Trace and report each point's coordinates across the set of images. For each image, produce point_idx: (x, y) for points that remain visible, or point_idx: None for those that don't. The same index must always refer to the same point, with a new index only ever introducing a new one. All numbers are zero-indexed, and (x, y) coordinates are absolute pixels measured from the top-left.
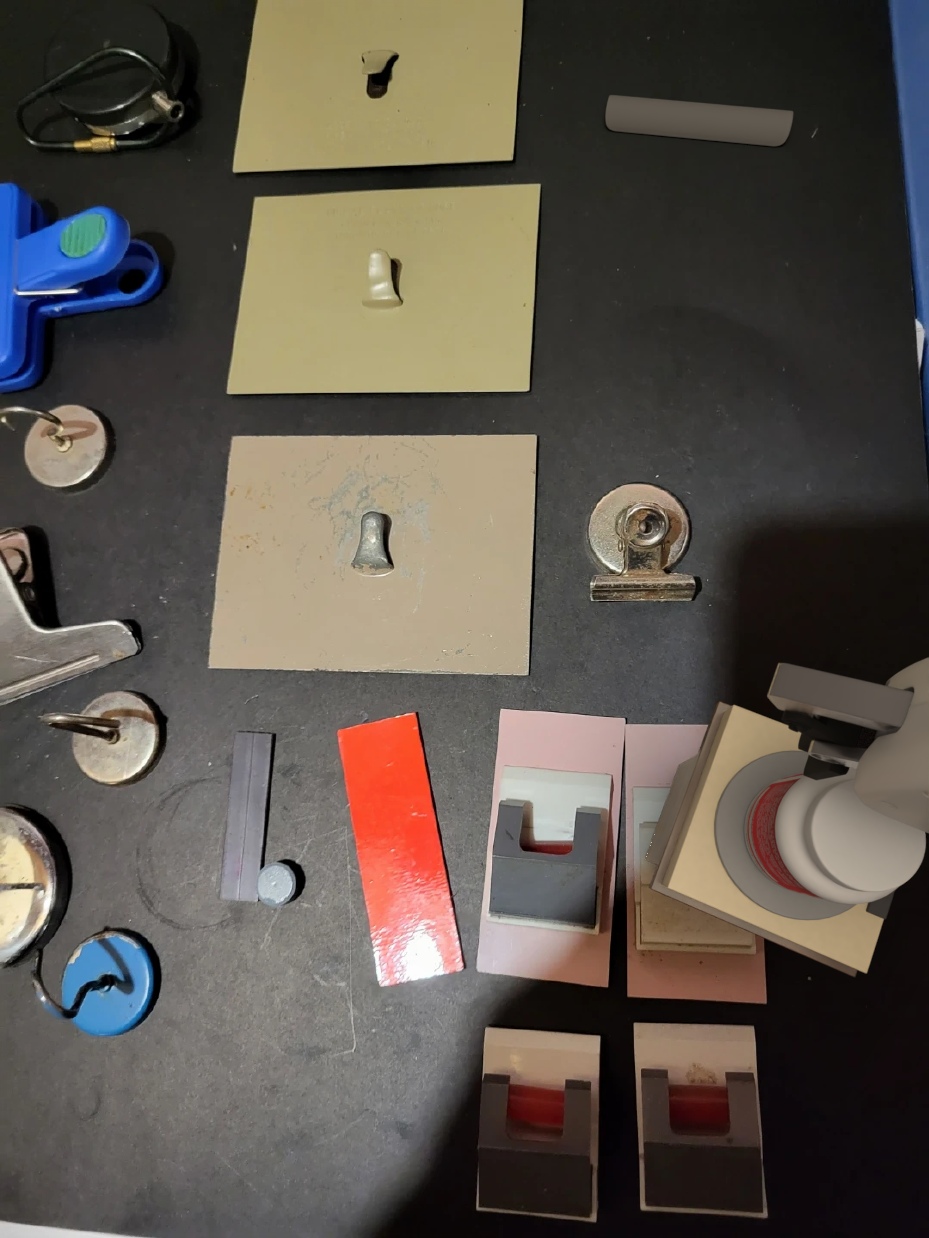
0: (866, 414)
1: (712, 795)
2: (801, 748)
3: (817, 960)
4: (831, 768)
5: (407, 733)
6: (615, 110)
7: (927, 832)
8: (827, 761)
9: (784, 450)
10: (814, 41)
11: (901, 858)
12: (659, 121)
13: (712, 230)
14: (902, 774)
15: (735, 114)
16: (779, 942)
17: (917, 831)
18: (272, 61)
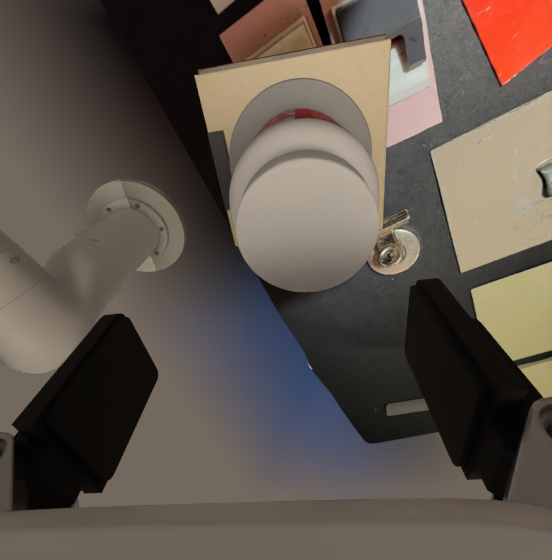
0: (313, 334)
1: (376, 153)
2: (487, 331)
3: (229, 64)
4: (523, 393)
5: (505, 67)
6: None
7: (390, 524)
8: (544, 408)
9: (339, 310)
10: (387, 433)
11: (258, 227)
12: None
13: (403, 373)
14: None
15: (410, 410)
16: (263, 59)
17: (257, 263)
18: None
